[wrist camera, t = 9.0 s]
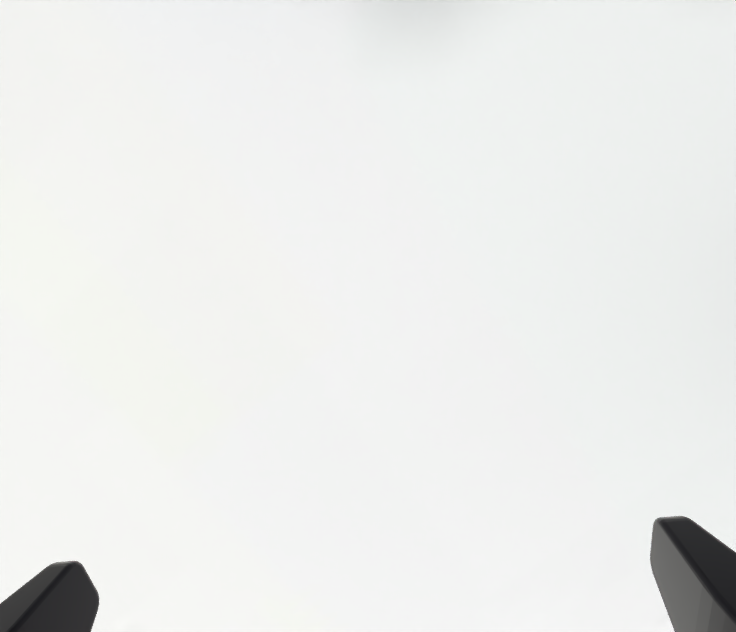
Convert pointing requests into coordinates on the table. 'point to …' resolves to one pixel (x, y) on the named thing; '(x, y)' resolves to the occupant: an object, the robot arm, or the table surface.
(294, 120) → the table surface
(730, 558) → the robot arm
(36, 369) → the table surface
